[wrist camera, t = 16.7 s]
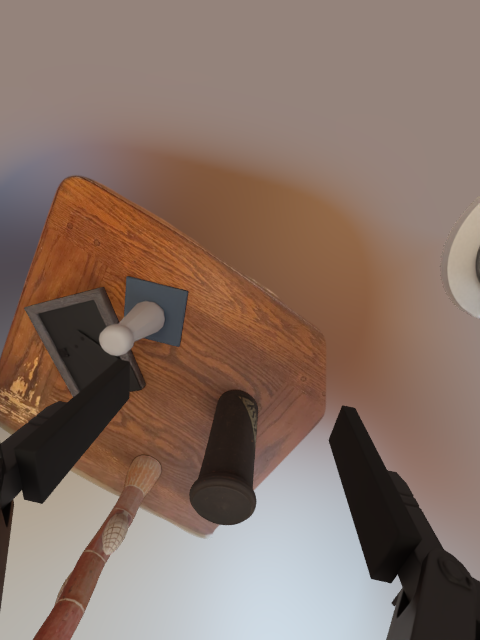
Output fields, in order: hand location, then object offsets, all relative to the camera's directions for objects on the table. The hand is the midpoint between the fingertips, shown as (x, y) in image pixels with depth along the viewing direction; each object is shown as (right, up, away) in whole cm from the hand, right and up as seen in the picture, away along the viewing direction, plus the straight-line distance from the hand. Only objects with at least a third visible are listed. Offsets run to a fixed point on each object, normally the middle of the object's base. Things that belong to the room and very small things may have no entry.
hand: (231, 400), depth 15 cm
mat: (-15, +6, +30) cm, 34 cm away
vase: (-23, -31, +44) cm, 58 cm away
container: (0, -13, +35) cm, 38 cm away
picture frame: (-29, 0, +34) cm, 45 cm away
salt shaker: (-15, +6, +30) cm, 34 cm away
